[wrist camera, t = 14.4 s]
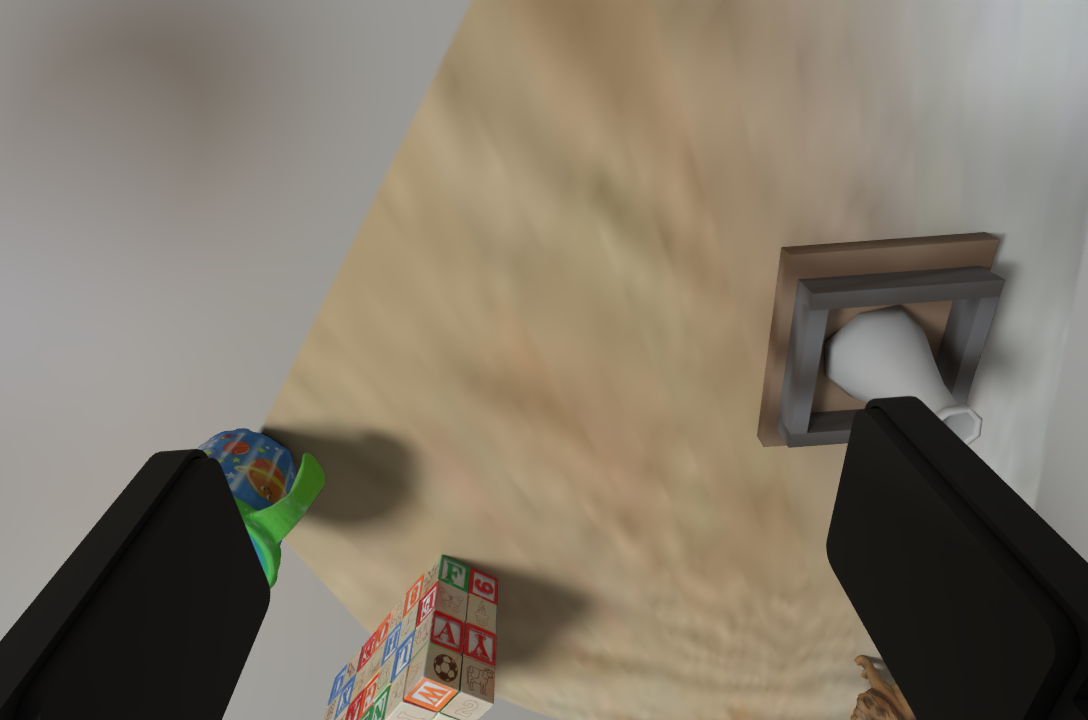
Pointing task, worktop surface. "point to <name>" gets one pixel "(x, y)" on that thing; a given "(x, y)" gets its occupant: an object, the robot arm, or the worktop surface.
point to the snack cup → (266, 488)
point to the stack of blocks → (426, 653)
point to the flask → (894, 366)
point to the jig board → (862, 286)
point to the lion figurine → (880, 698)
